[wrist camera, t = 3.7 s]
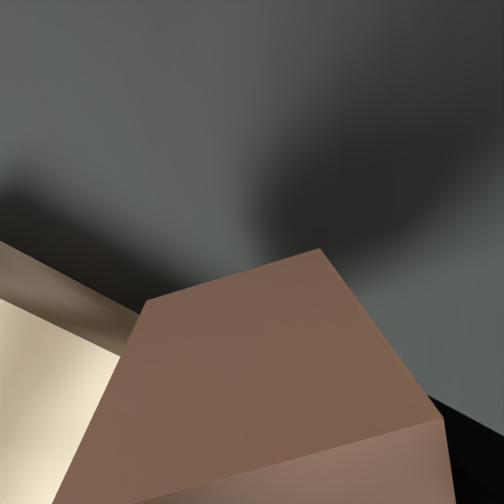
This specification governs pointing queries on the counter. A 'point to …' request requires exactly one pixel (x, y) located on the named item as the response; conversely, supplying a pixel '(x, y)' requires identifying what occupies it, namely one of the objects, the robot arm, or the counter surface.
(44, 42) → the counter surface
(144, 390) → the block
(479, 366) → the counter surface
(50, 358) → the base
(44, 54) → the counter surface
